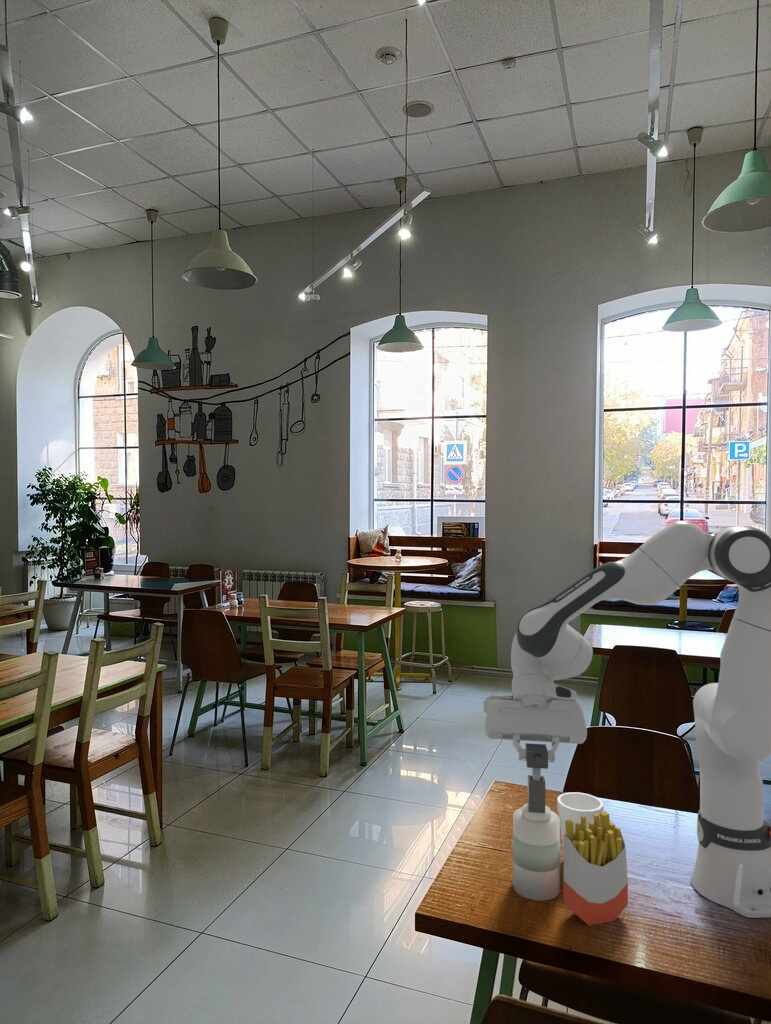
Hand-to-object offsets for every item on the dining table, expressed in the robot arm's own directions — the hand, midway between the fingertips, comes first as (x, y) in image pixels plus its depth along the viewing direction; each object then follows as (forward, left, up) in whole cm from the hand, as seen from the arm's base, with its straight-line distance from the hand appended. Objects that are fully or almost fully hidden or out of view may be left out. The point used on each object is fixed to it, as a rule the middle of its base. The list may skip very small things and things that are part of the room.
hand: (536, 760), depth 131 cm
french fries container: (-10, +7, -26) cm, 29 cm away
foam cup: (-10, -12, -26) cm, 30 cm away
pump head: (0, +1, -7) cm, 7 cm away
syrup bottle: (0, -1, -25) cm, 25 cm away
